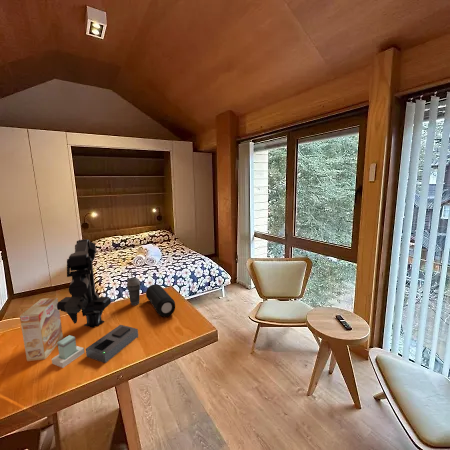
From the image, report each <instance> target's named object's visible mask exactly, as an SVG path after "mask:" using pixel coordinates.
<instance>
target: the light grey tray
mask: <svg viewBox="0 0 450 450" xmlns="http://www.w3.org/2000/svg"><path fill="white" fill-rule="evenodd" d="M76 349H77V352H75V353H74V354H73V355H71V356H70V357H68V358H67V359H65V360H64V359H61V358H60V357H59V354H57V355H55V356H54V357H53V358H51V364H52V365H55V366H57V367H59V368H63V369H64V368H65V367H66V366H68V365H70V364H71V363H72V362H73V361H75V360H76V359H78V358H79V357H81V356H82V355H84V354H86V351H85V347H82V346H78V345H76Z"/></svg>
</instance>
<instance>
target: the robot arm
mask: <svg viewBox="0 0 450 450" xmlns="http://www.w3.org/2000/svg"><path fill="white" fill-rule="evenodd" d="M97 252H98V251H97V246H96V243H95V242H93V241H91V240H90V239H88V238H87V239H79V240H76V244H74V253H73V252H72V253H71V254H70V255H69V256H68V258H66V278H70V277H71V282H70V284H69V286H68V292H69V294H70V295H71V296H65V297H64V298H62V299H61V300H60V301H59V300H58V303H57V309H58V310H59V311H60V312H64V313H66V314H67V315H68V316H69V318H70V319H71V320H72V322H73V324H77V323H78V314H79V313H80V312H81V313H82V314H81V315H82V317H86V323H84V327H88V328H92V329H95V328H96V327H99V326H100V325H102V324H103V323H105V320H103V319H102V315H103V313H104V311H105V309H106V308H107V307H109V305H111V303H112V300H111V298H110V296H100V295H99V294H98V293H97V292H96V286H95V285H96V284H95V275H94V266H93V262H94V259H96V254H97Z"/></svg>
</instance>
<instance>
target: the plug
mask: <svg viewBox="0 0 450 450" xmlns="http://www.w3.org/2000/svg"><path fill="white" fill-rule="evenodd" d="M57 343H58V344H57V348H58V355H59V357H60V358H61V359H64V360H65V359H67V358H68V357H70V356H71V355H73V354H74V353H75V352H77V349H76V346H77V342H76V336H73V335H70V334H69V335H68V336H67V335H66V337H63V338H62V339H61V340H60V341H59V342H57Z"/></svg>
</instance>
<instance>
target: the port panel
mask: <svg viewBox="0 0 450 450" xmlns="http://www.w3.org/2000/svg"><path fill="white" fill-rule="evenodd" d="M137 338H139V330H138V328H135V327H130V326H128V325H123V324H119V325H117V326H116V327H115V328H114V329H112V330H110V331H109V332H108V333H106V334H105V335H103V336H102V337H100V338H99V339H97V340H96V341H95V342H94V343H91V344H90V345H89V346H87V347H86V348H85V356H86V358H89V359H92V360H95V361H97V362H100V363H104V364H106V363H108V362H109V361H110V360H111V359H113V358H114V357H115V356H116V355H118V354H119V353H120V352H121V351H122V350H124V349H125V348H126V347H127V346H128V345H130V344H131V343H132V342H133V341H134V340H136V339H137Z"/></svg>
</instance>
